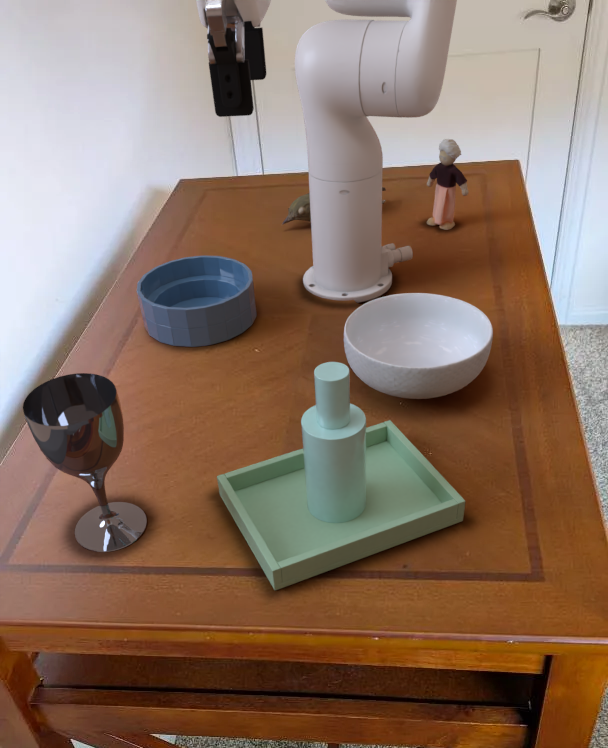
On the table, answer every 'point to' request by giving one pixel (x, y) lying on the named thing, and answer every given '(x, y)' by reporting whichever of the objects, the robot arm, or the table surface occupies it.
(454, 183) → the grandmother figurine
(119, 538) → the wine glass
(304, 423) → the bottle
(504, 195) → the table surface
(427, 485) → the tray
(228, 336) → the bowl
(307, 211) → the decorative bird model
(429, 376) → the cereal bowl
